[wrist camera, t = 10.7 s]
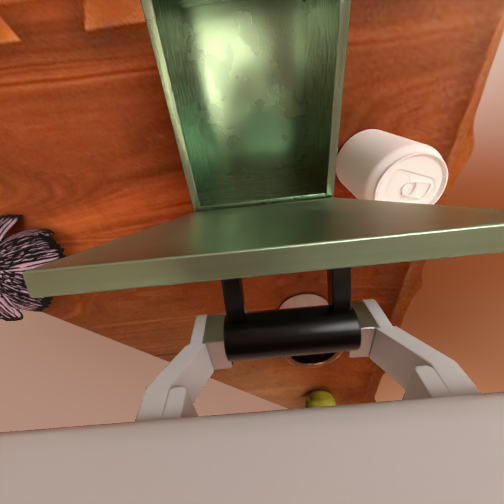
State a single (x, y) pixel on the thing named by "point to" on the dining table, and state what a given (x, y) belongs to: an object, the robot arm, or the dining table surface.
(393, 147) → the beverage can
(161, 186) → the dining table surface
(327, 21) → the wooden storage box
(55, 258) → the decorative flower
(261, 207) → the lid
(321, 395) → the apple
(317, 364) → the planter
